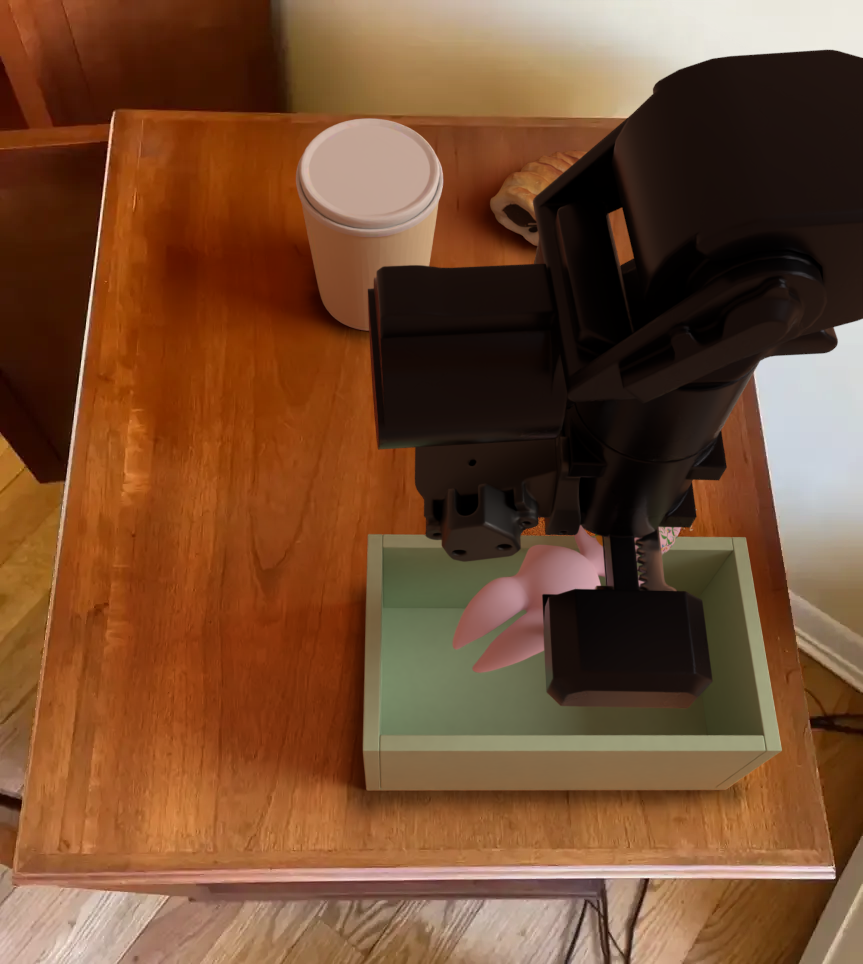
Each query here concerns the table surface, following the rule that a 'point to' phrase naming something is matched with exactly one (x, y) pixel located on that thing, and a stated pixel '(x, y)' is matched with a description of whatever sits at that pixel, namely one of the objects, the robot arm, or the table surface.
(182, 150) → the table surface
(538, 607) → the rabbit figure
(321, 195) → the coffee cup
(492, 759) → the bin
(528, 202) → the pastry
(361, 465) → the table surface
